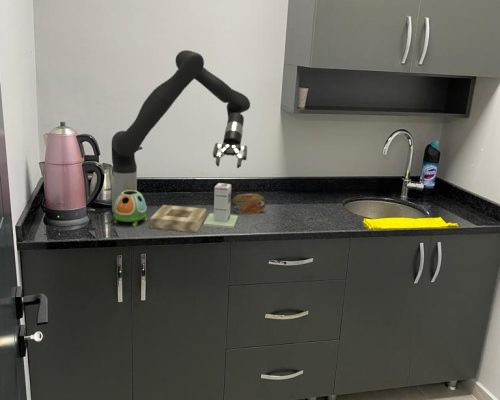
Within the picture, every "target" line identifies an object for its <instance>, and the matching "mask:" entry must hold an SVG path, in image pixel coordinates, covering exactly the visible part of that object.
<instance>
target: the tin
mask: <svg viewBox="0 0 500 400" xmlns="http://www.w3.org/2000/svg"><path fill="white" fill-rule="evenodd" d="M266 205H267V202H266V199H265V197H264V196H263V195H261V194H259V193H239V194H236V195H235V196H234V197H232V198H231V208H232V209H233V211H234V212H235V213H236V214H241V215H243V214H259V213H261V212H263V210H264V209H265V207H266Z"/></svg>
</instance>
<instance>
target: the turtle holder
mask: <svg viewBox="0 0 500 400" xmlns="http://www.w3.org/2000/svg"><path fill="white" fill-rule="evenodd" d="M132 193H135V194H132ZM113 209H114V212H113V217H114V218H115V220H114V221H113V223H114V224H118V223H119V222H125V223H127V222H128V223H130V222H132V224H131V226H132V227H137V226H138V222H139V221H143V222H146V221H147V219H148V218H147V203H146V200H145V198H144V196H143V193H141V192H140V191H138V190H137V191H134V190H126V191H123V192H122V193H121V195H120V196H119V197H118V198H117V200H116V202H115V205H114V208H113Z"/></svg>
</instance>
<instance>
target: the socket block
mask: <svg viewBox="0 0 500 400" xmlns="http://www.w3.org/2000/svg"><path fill="white" fill-rule="evenodd" d="M206 219H207V208H203V207H202V208H201V207H193V206H192V207H190V206H180V205H179V206H178V205H170V204H168V205H166V204H162V206H161V207H160V208H159V209H158V210H157V211H156V212H155V213H154V214H153V215H151V216H150V220H149V221H150V222H149V223H150V229H159V230H168V231H178V232H179V231H180V232H188V233H197V232H198V231H199V230H200V228H201V226H202V224H203V223H204V222H205V220H206Z"/></svg>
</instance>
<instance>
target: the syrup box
mask: <svg viewBox="0 0 500 400" xmlns="http://www.w3.org/2000/svg"><path fill="white" fill-rule="evenodd" d="M213 197H214V198H213V199H214V200H213V213H214V221H221V222H227V221H228V220H229V219H230V215H231V208H232V205H231V202H232V184H231V183H226V182H225V183H223V182H222V183H221V182H218V183H217V184H216V185H215V186H214V196H213Z"/></svg>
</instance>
